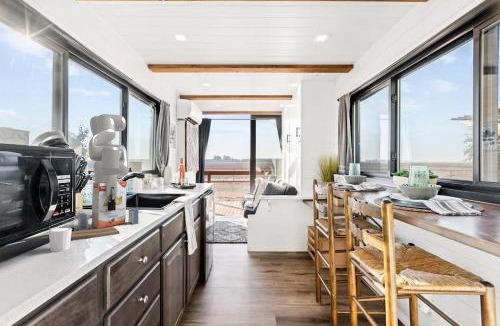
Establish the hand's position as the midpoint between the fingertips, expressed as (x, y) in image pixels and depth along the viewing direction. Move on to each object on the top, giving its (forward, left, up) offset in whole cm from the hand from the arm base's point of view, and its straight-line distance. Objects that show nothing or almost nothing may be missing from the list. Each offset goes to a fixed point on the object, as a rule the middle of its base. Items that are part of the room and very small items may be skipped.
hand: (109, 208), depth 134 cm
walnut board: (+12, -9, -8) cm, 17 cm away
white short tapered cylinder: (+27, -22, -8) cm, 36 cm away
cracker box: (0, 0, -8) cm, 8 cm away
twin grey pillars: (0, 0, -8) cm, 8 cm away
